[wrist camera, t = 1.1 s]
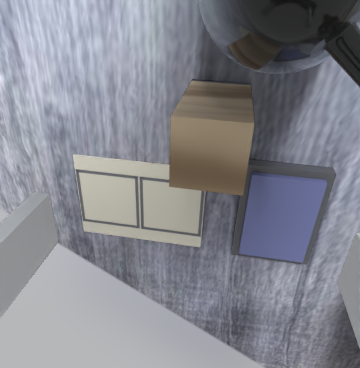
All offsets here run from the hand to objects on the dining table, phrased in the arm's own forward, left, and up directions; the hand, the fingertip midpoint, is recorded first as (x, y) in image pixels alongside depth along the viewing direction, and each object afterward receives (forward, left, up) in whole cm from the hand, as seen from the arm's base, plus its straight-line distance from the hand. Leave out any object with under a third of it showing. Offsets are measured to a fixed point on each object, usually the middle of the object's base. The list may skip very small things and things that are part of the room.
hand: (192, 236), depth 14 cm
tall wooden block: (0, 0, -18) cm, 18 cm away
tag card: (+11, -7, -18) cm, 22 cm away
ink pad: (+10, +7, -18) cm, 21 cm away
